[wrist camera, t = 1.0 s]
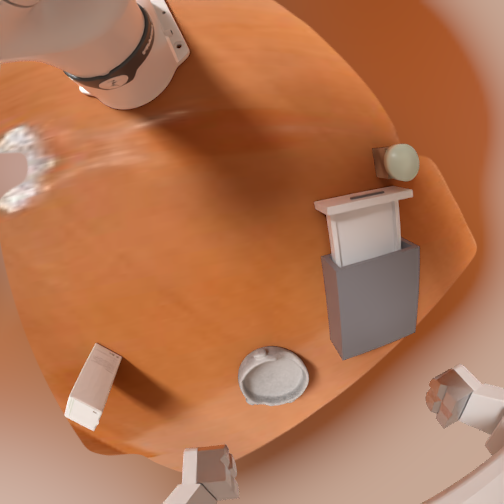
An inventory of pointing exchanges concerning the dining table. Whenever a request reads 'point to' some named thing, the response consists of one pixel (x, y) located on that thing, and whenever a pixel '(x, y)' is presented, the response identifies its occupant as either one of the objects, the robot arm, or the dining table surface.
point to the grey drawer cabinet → (372, 299)
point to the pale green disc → (401, 162)
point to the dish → (272, 376)
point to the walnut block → (380, 162)
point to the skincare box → (93, 387)
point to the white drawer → (364, 223)
